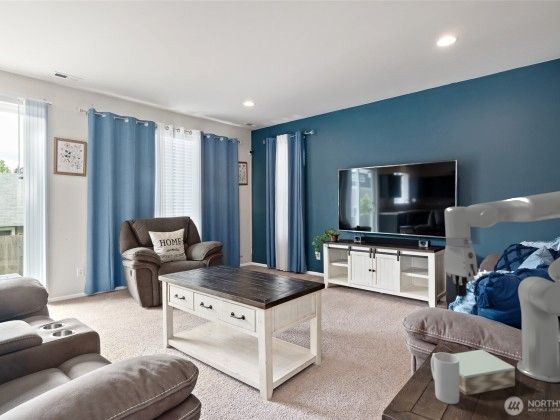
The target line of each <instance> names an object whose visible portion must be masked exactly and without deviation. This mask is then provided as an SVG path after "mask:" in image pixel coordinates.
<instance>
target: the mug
mask: <svg viewBox="0 0 560 420" xmlns="http://www.w3.org/2000/svg"><path fill="white" fill-rule="evenodd" d="M453 354H454V353H448V352H444V351H443V352H440V351H439V352H436V353H435V352H433V353H432V356H431V359H430V369H431V375H432V378H433V380H434V391H435V397H436V399H437V400H439V401H440V402H442V403H445V404H448V405H456V404H458V403H459V402H460V391H459V358H458V357H457V356H455V355H453Z"/></svg>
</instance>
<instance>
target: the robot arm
mask: <svg viewBox="0 0 560 420" xmlns="http://www.w3.org/2000/svg"><path fill="white" fill-rule="evenodd" d="M559 218H560V191H554V192H553V191H552V192H546V193H539V194H534V195H533V194H532V195H528V196H519V197H513V198H509V199H503V200H497V201H488V202H482V203H476V204H471V205H469V206H450V207H447V208H445V209H444V226H445V249H444V270H445V272H446V276H447V277H449V278H451V279H452V282H453V284H454V290H455V292H454V293H455V296H457V297H465V296H467V295H468V294H467V291H468V290H467V288H468V287H467V285H468V284H469V282H475V280H476V279H475V277H476V276H477V277H478V263H477V257H476V256H477V255H476V253H475V249H474V247H473V246H472V244H473V240H472V239H471V238H472V236H471V227H473V228H476V227H477V228H490V227H492V226H495V225H496V224H497V223H504V222H512V223H513V222H515V223H527V222H528V223H529V222H538V221H544V220H551V219H553V220H554V219H559ZM547 273H548V275H549V277H550V278H551V279H552V280H553V281H552V280H550V279H546V278H544V277H540V276H528V277H525V278H524V279H522V280H521V281H520V283H519V286H518V287H517V288H518V289H517V292H518V299H519V303H520V304H519V305H520V311H521V347H522V348H521V350H522V351H521V352H522V355H521V356H522V357H521V358H522V360H519V361H518V362H517V363H516V367H517V370H518V371H519V372H520V373H522V374H523V375H525V376H527V377H530V378H532V379H534V380H538V381H542V382H546V383H547V382H548V383H560V343H559V342H560V341H559V340H560V338H559V336H560V335H559V332H560V331H559V328H560V327H559V318H558V317H560V256H559V257H558V258H557V259H555V260H554V261H553V262H552V263H550V264H549V266H548V269H547Z"/></svg>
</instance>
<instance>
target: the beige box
mask: <svg viewBox="0 0 560 420" xmlns="http://www.w3.org/2000/svg"><path fill="white" fill-rule="evenodd" d="M515 376H516V375H515V370H512V371H506V372H500V373H495V374H489V375H483V376H477V377H472V378H466V379H464V378H463V377H461V376H460V375H459V393H460V392H461V393H462V394H463V395H464V396H468V395H474V394H479V393H485V392H489V391H495V390H500V389H506V388H507V389H508V388H511V387H512V388H513V387H515V386H516V377H515Z"/></svg>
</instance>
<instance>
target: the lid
mask: <svg viewBox="0 0 560 420" xmlns="http://www.w3.org/2000/svg"><path fill="white" fill-rule="evenodd" d="M452 354H453V355H455V356H457V357H458V358H459V375H460V376H461V377H463V378H464V379H466V378H472V377H477V376H483V375H489V374H495V373H500V372H506V371H512V370H514V371H515V370H516V367H515V366H513V365H511V364H510V363H508V362H506V361H504V360H502V359H501V358H498V357H497V356H496V355H493V354H490V353H489V352H487V351H485V350H484V349H477V350H471V351H470V350H469V351H464V352H457V353H452Z"/></svg>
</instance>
